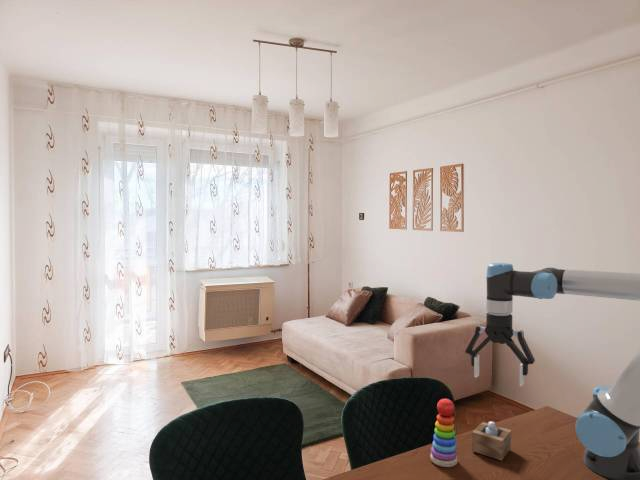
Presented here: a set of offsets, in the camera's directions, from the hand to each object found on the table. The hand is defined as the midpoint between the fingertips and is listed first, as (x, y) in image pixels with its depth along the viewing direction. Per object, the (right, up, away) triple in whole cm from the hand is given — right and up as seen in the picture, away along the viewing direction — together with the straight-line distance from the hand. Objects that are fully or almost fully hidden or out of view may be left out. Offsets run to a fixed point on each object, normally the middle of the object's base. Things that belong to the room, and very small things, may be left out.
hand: (498, 380), depth 144 cm
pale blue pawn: (-2, -22, 0) cm, 22 cm away
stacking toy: (-19, -22, -6) cm, 30 cm away
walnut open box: (-2, -22, 0) cm, 22 cm away
